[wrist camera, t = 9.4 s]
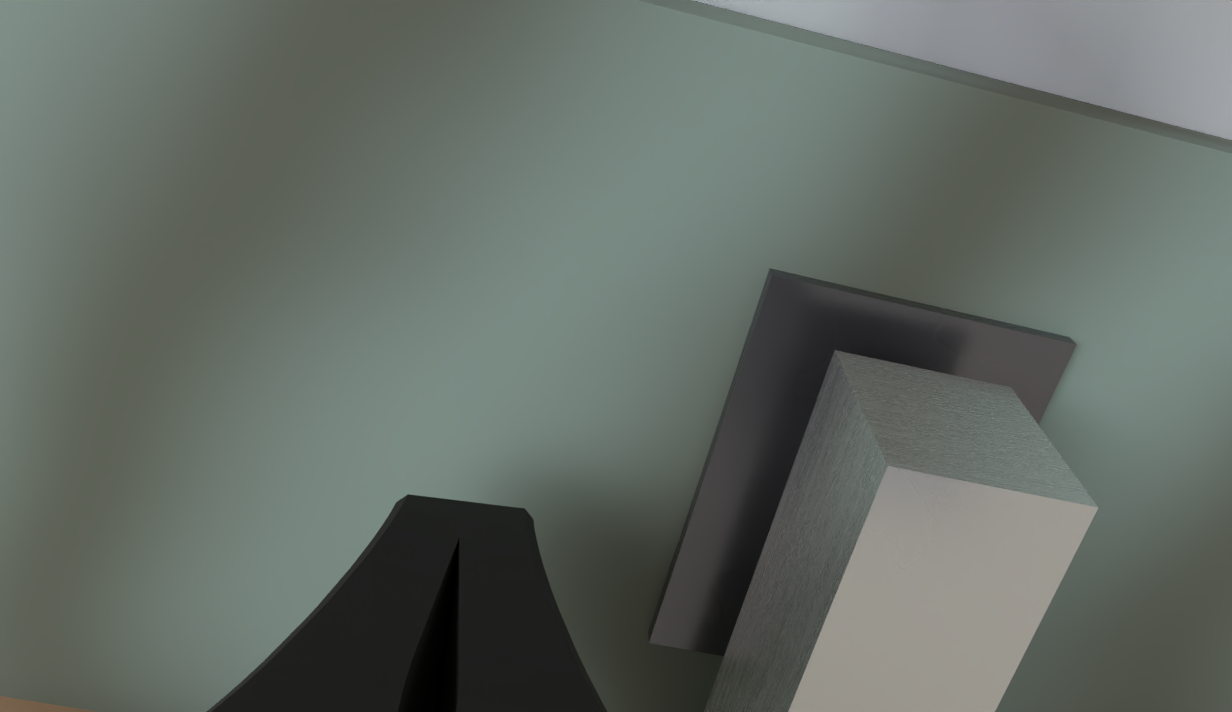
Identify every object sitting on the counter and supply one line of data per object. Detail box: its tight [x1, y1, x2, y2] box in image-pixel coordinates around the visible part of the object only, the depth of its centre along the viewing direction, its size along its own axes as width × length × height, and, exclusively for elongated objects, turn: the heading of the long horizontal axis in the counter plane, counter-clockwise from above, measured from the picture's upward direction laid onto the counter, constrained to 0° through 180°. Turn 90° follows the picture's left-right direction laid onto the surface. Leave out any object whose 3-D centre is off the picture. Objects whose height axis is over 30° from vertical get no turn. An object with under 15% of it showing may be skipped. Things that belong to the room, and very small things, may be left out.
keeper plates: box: [648, 268, 1077, 656], centre depth 15 cm, size 4×12×1 cm, turn 166°
